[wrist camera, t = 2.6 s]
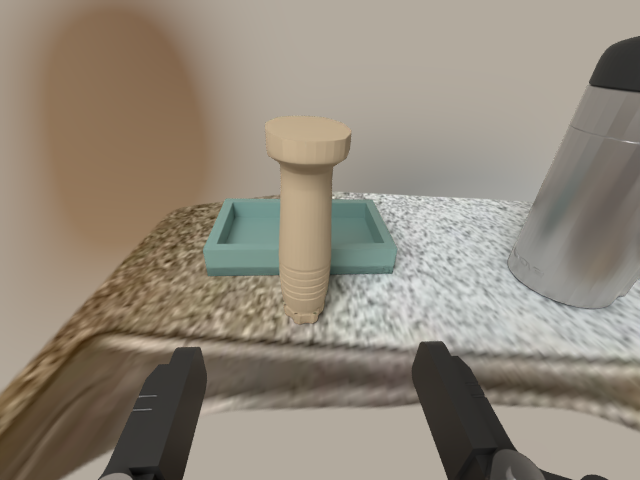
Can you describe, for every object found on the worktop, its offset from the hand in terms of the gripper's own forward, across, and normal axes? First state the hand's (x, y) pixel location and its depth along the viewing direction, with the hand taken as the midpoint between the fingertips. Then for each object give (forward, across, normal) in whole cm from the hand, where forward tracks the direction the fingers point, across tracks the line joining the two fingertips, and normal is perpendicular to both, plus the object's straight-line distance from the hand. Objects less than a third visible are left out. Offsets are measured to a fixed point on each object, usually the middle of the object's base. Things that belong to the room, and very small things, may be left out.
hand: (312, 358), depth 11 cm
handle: (+11, 0, +9) cm, 15 cm away
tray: (+22, 0, +9) cm, 24 cm away
